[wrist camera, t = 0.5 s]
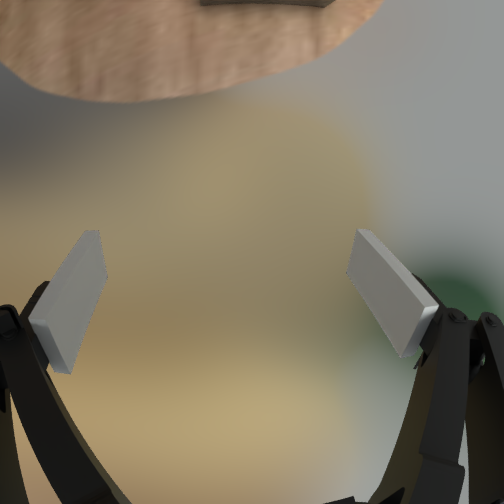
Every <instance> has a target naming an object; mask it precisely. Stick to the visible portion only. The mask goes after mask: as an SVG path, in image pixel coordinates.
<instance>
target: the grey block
mask: <svg viewBox="0 0 504 504" xmlns="http://www.w3.org/2000/svg"><path fill="white" fill-rule="evenodd" d="M334 1H335V0H200V5H201V6H205V5H218V4H242V3H267V4H291V5H304V6H315V7H326V6H327V5H329V4H331V3H332V2H334Z"/></svg>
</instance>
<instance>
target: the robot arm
mask: <svg viewBox="0 0 504 504" xmlns="http://www.w3.org/2000/svg"><path fill="white" fill-rule="evenodd" d="M346 273H347V275H348V276H349V278H350V280H351V281H352V283H353V284H354V286H355V287H356V288H357V290H358V292H359V293H360V295H361V296H362V298H363V299H364V301H365V302H366V304H367V305H368V307H369V308H370V310H371V312H372V313H373V315H374V316H375V318H376V319H377V321H378V323H379V324H380V326H381V327H382V329H383V331H384V332H385V334H386V336H387V337H388V339H389V340H390V342H391V344H392V345H393V347H394V349H395V350H396V352H397V354H398V355H399V357H400V358H404V357H408V356H413V355H414V354H415V352H416V350H417V349H418V347H419V345H420V346H421V348H422V349H423V352H422V354H421V356H420V358H419V360H418V361H417V363H416V365H415V367H414V369H416V368H417V366H418V369H417V374H416V377H415V381H414V385H413V389H412V393H411V397H410V400H409V404H408V407H407V411H406V414H405V418H404V421H403V424H402V427H401V430H400V433H399V436H398V439H397V442H396V445H395V448H394V450H393V453H392V456H391V458H390V461H389V464H388V466H387V469H386V471H385V474H384V476H383V478H382V481H381V483H380V485H379V487H378V488H377V490H376V491H375V492H374V494H373V495H372V496H371V498H370V500H369V501H368V503H366V502H355V499H354V497H353V496H352V497H348V498H345V499H341V500H337V501H333V502H329V503H325V504H458V502H459V497H460V494H461V490H462V485H463V481H464V476H465V469H464V466H461V465H459V464H458V458H459V452H460V447H461V441H462V435H463V429H464V421H465V423H466V433H467V446H468V465H469V504H504V326H503V324H502V322H501V320H500V319H499V318H498V317H497V316H496V315H494V314H493V313H489V312H483V313H482V314H481V316H480V318H479V320H478V321H475V320H468V318H467V316H466V315H465V314H464V313H463V312H461V311H460V310H458V309H455V308H446V307H445V305H444V304H443V303H442V302H441V301H440V300H439V298H438V297H437V296H436V295H435V294H434V293H433V292H432V291H431V289H430V288H429V287H427V285H426V284H425V283H424V282H423V281H422V279H420V278H419V277H417V276H416V275H414V274H413V273H412V274H411V273H410V272H409V271H408V270H407V269H406V268H405V266H404V265H403V264H402V263H401V262H400V261H399V260H398V259H397V258H396V257H395V256H394V255H393V254H392V253H391V252H390V250H389V249H387V247H386V246H385V245H384V244H383V243H382V242H381V241H380V240H379V239H378V238H377V237H376V236H375V235H374V234H373V233H372V232H371V231H370V230H368V229H357V230H356V234H355V239H354V243H353V247H352V251H351V256H350V260H349V264H348V268H347V272H346ZM107 278H108V276H107V271H106V266H105V261H104V256H103V251H102V246H101V240H100V234H99V230H96V231H95V230H93V231H85V232H84V233H83V235H82V236H81V237H80V239H79V240H78V242H77V243H76V244H75V246H74V247H73V249H72V250H71V251H70V253H69V254H68V256H67V257H66V259H65V260H64V261H63V263H62V264H61V266H60V267H59V269H58V270H57V272H56V274H55V275H54V277H53V278H52V280H51V281H45V282H43V283H42V284H41V285H40V286H38V287H37V289H36V290H35V292H34V293H33V295H32V297H31V298H30V299H29V301H28V303H27V304H26V306H25V307H24V309H23V311H22V312H21V314H20V316H19V315H18V313H17V310H16V308H15V307H14V306H12V305H9V304H8V305H2V306H0V504H29V502H28V498H27V494H26V490H25V487H24V482H23V478H22V474H21V469H20V465H19V460H18V454H17V449H16V443H15V437H14V429H13V420H12V412H11V400H10V393H11V396H12V399H13V402H14V405H15V407H16V410H17V413H18V415H19V418H20V420H21V423H22V426H23V428H24V430H25V433H26V435H27V437H28V440H29V442H30V444H31V446H32V448H33V451H34V453H35V455H36V457H37V459H38V461H39V463H40V465H41V467H42V469H43V471H44V473H45V475H46V476H47V478H48V480H49V482H50V484H51V486H52V487H53V489H54V491H55V493H56V494H57V496H58V498H59V499H60V501H61V503H62V504H132V503H131V502H130V501H129V500H128V499H127V497H126V496H125V495H124V494H123V492H122V491H121V490H120V489H119V487H118V486H117V485H116V484H115V482H114V481H113V480H112V478H111V477H110V476H109V474H108V473H107V472H106V470H105V469H104V468H103V466H102V465H101V463H100V462H99V460H98V459H97V458H96V456H95V455H94V453H93V452H92V450H91V449H90V447H89V446H88V444H87V443H86V441H85V439H84V438H83V436H82V435H81V433H80V431H79V430H78V428H77V426H76V425H75V423H74V421H73V420H72V418H71V416H70V414H69V413H68V411H67V409H66V407H65V405H64V404H63V402H62V400H61V398H60V396H59V394H58V392H57V390H56V388H55V386H54V384H53V382H52V380H51V378H50V376H49V374H48V372H47V371H46V369H47V366H48V364H49V363H50V364H51V366H52V368H53V370H54V372H58V373H65V374H71V372H72V369H73V366H74V363H75V360H76V357H77V354H78V351H79V349H80V346H81V343H82V340H83V338H84V335H85V332H86V330H87V327H88V324H89V322H90V319H91V316H92V314H93V311H94V309H95V306H96V304H97V302H98V299H99V297H100V294H101V292H102V290H103V287H104V285H105V283H106V280H107ZM484 357H485V362H484V365H483V361H482V360H483V359H484Z"/></svg>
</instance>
